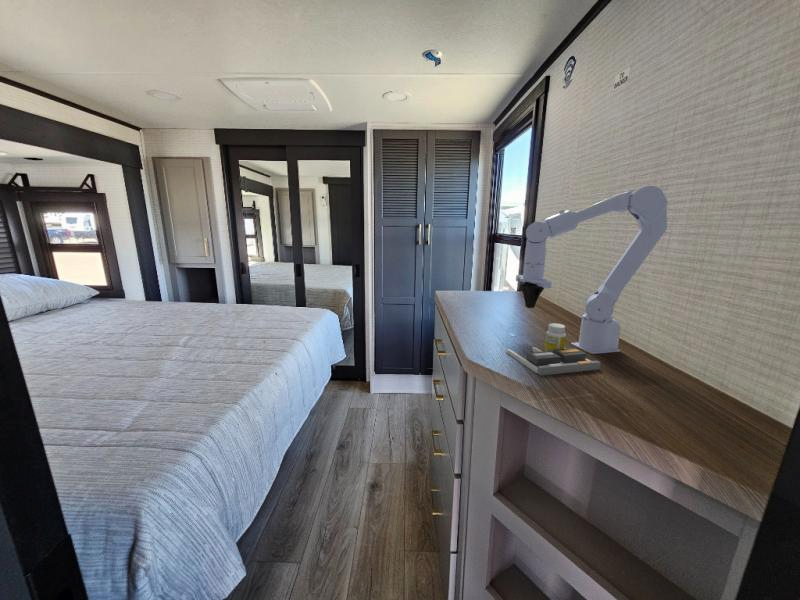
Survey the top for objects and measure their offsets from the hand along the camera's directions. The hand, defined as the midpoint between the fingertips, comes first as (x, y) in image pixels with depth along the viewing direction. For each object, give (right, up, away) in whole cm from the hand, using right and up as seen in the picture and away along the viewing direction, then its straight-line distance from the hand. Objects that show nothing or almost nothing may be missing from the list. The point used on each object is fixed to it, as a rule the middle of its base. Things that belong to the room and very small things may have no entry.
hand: (529, 307), depth 95 cm
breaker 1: (-5, -14, -19) cm, 24 cm away
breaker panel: (-2, -13, -15) cm, 20 cm away
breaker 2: (+3, -14, -17) cm, 22 cm away
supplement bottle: (+2, -13, -11) cm, 17 cm away
